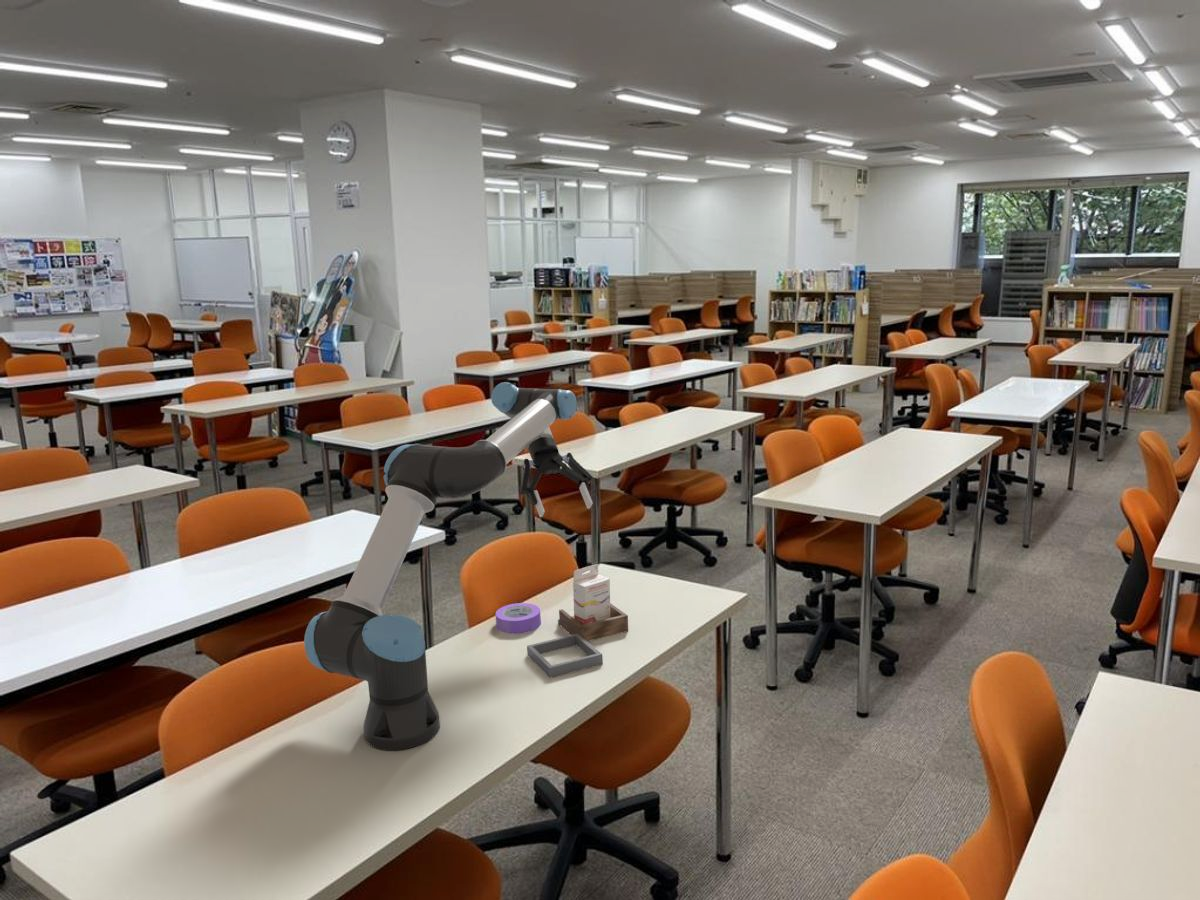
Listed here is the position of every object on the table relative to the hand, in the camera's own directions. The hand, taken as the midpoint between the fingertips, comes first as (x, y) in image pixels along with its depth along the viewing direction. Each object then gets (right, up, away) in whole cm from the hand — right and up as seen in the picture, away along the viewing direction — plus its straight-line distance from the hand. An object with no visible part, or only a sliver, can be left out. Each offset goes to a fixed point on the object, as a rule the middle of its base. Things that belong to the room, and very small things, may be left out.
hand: (566, 510), depth 223 cm
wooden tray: (+7, -30, 0) cm, 31 cm away
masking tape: (-13, -31, +4) cm, 33 cm away
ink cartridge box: (+7, -29, 0) cm, 30 cm away
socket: (0, -34, -18) cm, 39 cm away
